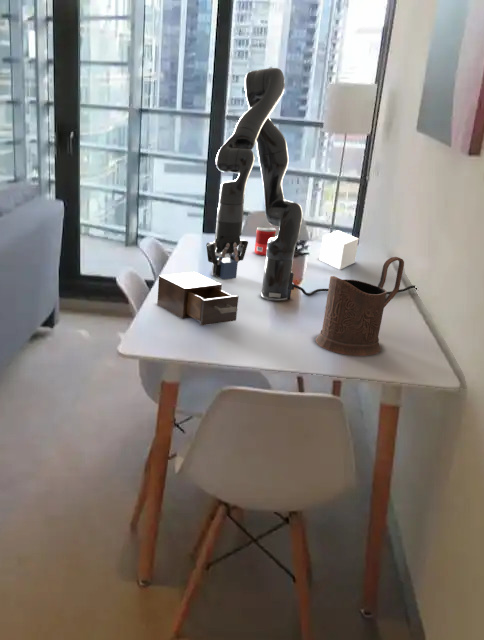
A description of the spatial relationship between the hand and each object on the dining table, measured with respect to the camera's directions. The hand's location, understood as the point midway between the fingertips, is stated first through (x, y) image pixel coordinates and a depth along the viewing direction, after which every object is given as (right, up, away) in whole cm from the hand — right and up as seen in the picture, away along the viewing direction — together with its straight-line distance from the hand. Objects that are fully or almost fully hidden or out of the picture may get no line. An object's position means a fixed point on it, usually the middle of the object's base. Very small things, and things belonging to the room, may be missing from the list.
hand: (224, 275), depth 215 cm
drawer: (-3, -12, +7) cm, 15 cm away
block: (0, 0, 0) cm, 0 cm away
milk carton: (+7, +8, +59) cm, 60 cm away
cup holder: (+38, -21, -5) cm, 43 cm away
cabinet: (-10, -9, +18) cm, 22 cm away
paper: (+59, +18, +88) cm, 107 cm away
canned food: (+29, +22, +94) cm, 101 cm away
